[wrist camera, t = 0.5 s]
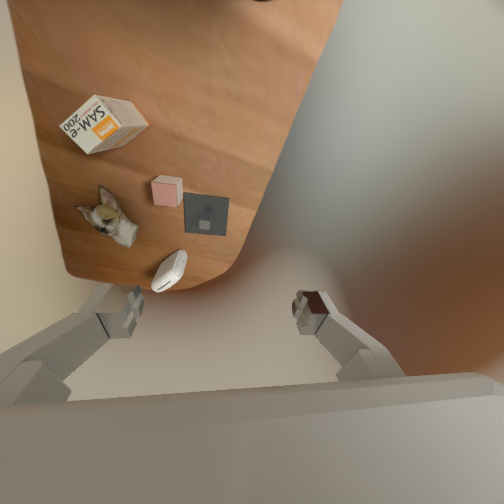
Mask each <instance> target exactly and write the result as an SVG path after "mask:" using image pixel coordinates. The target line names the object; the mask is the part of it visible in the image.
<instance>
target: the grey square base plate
mask: <svg viewBox="0 0 504 504" xmlns="http://www.w3.org/2000/svg"><path fill="white" fill-rule="evenodd" d="M228 206H229V198H224V197H217V196H209V195H201V194H193V193H186V192H184V208H185V230H186V232H187V233H198V234H209V235H221V236H226V226H227V216H228Z"/></svg>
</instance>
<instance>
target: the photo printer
mask: <svg viewBox="0 0 504 504" xmlns="http://www.w3.org/2000/svg"><path fill="white" fill-rule="evenodd" d="M187 258H188V256H187V253H186V252H185V251H184V250H178V251H176V252H175V253H173V254H172V255H170V256H169V257H168V258H167V259H165V260H164V261H163V262H162V263H161V264H160V266H159V268H158V270H157V273H156V275H155V277H154V279H153V281H152V284H151V288H152V289H153V290H154V291H156V292H161V291H164V290H166V289H168V288H169V287H171V286H172V285H173V284H175V283H176V282H177V281H178V280H179V279H180V278H181V277H182V275H183V272H184V269H185V265H186V262H187Z"/></svg>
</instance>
